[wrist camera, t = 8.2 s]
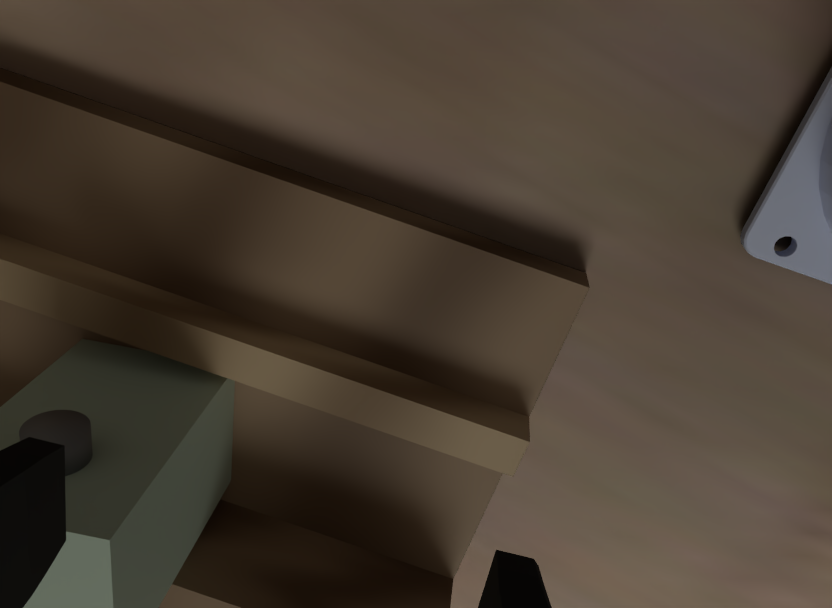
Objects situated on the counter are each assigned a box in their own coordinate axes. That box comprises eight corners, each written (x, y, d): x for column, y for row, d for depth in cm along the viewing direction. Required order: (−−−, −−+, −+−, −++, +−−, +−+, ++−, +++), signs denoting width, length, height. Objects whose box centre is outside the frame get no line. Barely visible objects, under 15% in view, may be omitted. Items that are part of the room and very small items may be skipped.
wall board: (586, 273, 19) (604, 352, 15) (440, 588, 24) (425, 710, 20) (-141, 18, 19) (-322, 29, 15) (-135, 390, 24) (-268, 475, 20)
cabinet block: (235, 342, 20) (107, 508, 14) (230, 480, 22) (117, 680, 16) (81, 313, 21) (-114, 463, 14) (89, 452, 23) (-78, 638, 16)
